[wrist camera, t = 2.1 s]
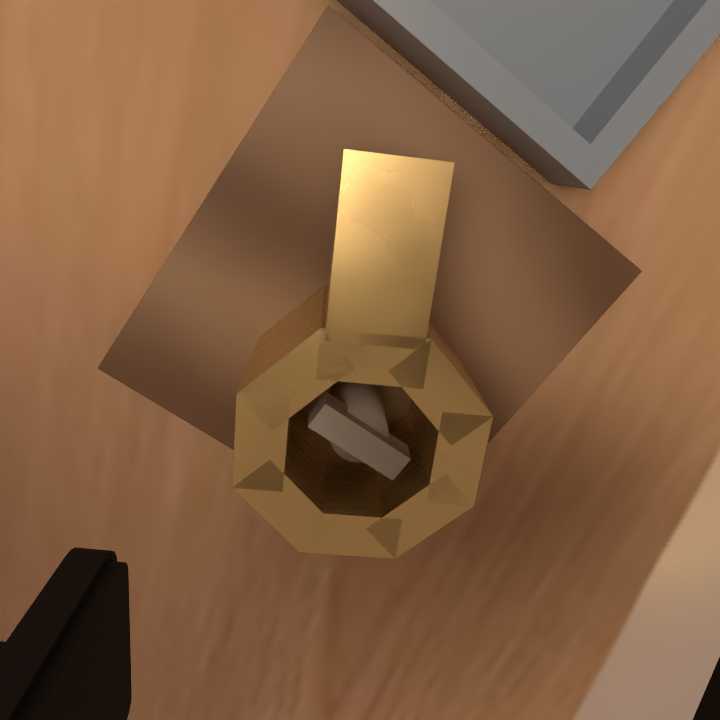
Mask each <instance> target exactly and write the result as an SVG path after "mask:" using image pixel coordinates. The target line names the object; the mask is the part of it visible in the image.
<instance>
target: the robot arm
mask: <svg viewBox="0 0 720 720" xmlns="http://www.w3.org/2000/svg"><path fill="white" fill-rule="evenodd" d="M130 704H131V658H130V619H129V581H128V565H127V563H125V562H117V557H116V554H115V552H114V551H108V550H96V549H85V548H73V549H71V550H70V551H69V553H68V554H67V555H66V556H65V558H64V559H63V561H62V562H61V564H60V565H59V566H58V568H57V569H56V571H55V572H54V574H53V575H52V576H51V578H50V579H49V581H48V582H47V584H46V585H45V586H44V588H43V589H42V591H41V592H40V594H39V595H38V597H37V598H36V599H35V601H34V602H33V604H32V605H31V607H30V608H29V609H28V611H27V612H26V614H25V615H24V617H23V618H22V619H21V621H20V622H19V624H18V625H17V627H16V628H15V630H14V631H13V632H12V634H11V635H10V637H9V638H8V640H7V641H6V642H0V720H127V717H128V714H129V709H130ZM693 720H720V658H719V660H718V662H717V664H716V667H715V669H714V671H713V674H712V676H711V678H710V681H709V683H708V685H707V688H706V690H705V692H704V695H703V697H702V700H701V702H700V704H699V707H698V709H697V711H696V713H695V716H694V718H693Z"/></svg>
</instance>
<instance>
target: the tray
mask: <svg viewBox="0 0 720 720" xmlns="http://www.w3.org/2000/svg"><path fill="white" fill-rule="evenodd" d="M338 1H339V2H340V3H341V4H342V5H343V6H345V7H346V8H347V9H348V10H349V11H350V12H352V13H353V14H354V15H355V16H356V17H357V18H359V19H360V20H361V21H362V22H363V23H364V24H366V25H367V26H368V27H369V28H370V29H371V30H373V31H374V32H375V33H376V34H377V35H378V36H380V37H381V38H382V39H383V40H384V41H386V42H387V43H388V44H389V45H390V46H391V47H393V48H394V49H395V50H396V51H397V52H398V53H400V54H401V55H402V56H403V57H404V58H405V59H407V60H408V61H409V62H410V63H411V64H412V65H414V66H415V67H416V68H417V69H418V70H419V71H421V72H422V73H423V74H424V75H425V76H426V77H428V78H429V79H430V80H431V81H432V82H433V83H435V84H436V85H437V86H438V87H439V88H440V89H442V90H443V91H444V92H445V93H446V94H448V95H449V96H450V97H451V98H452V99H453V100H455V101H456V102H457V103H458V104H459V105H460V106H462V107H463V108H464V109H465V110H466V111H467V112H469V113H470V114H471V115H472V116H473V117H474V118H476V119H477V120H478V121H479V122H480V123H481V124H483V125H484V126H485V127H486V128H487V129H488V130H490V131H491V132H492V133H493V134H494V135H495V136H497V137H498V138H499V139H500V140H501V141H502V142H504V143H505V144H506V145H507V146H508V147H510V148H511V149H512V150H513V151H514V152H515V153H517V154H518V155H519V156H520V157H521V158H522V159H524V160H525V161H526V162H527V163H528V164H529V165H531V166H532V167H533V168H534V169H535V170H536V171H538V172H539V173H540V174H541V175H542V176H543V177H545V178H546V179H547V180H548V181H549V182H550V183H554V184H560V185H566V186H572V187H578V188H583V189H589V190H591V189H592V188H593V187H594V185H595V184H596V183H597V182H598V181H599V179H600V178H601V177H602V176H603V175H604V173H605V172H606V171H607V170H608V169H609V167H610V166H611V165H612V164H613V162H614V161H615V160H616V159H617V158H618V156H619V155H620V154H621V153H622V152H623V150H624V149H625V148H626V147H627V146H628V144H629V143H630V142H631V141H632V140H633V138H634V137H635V136H636V135H637V134H638V132H639V131H640V130H641V129H642V128H643V126H644V125H645V124H646V123H647V122H648V120H649V119H650V118H651V117H652V116H653V114H654V113H655V112H656V111H657V110H658V108H659V107H660V106H661V105H662V104H663V102H664V101H665V100H666V99H667V98H668V96H669V95H670V94H671V93H672V92H673V90H674V89H675V88H676V87H677V86H678V84H679V83H680V82H681V81H682V80H683V78H684V77H685V76H686V75H687V73H688V72H689V71H690V70H691V69H692V67H693V66H694V65H695V64H696V63H697V61H698V60H699V59H700V58H701V57H702V55H703V54H704V53H705V52H706V51H707V49H708V48H709V47H710V46H711V45H712V43H713V42H714V41H715V40H716V39H717V37H718V36H719V35H720V0H338Z"/></svg>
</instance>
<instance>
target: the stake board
mask: <svg viewBox="0 0 720 720" xmlns="http://www.w3.org/2000/svg"><path fill="white" fill-rule="evenodd" d="M342 148H343V149H351V150H359V151H367V152H375V153H384V154H392V155H400V156H408V157H416V158H425V159H432V160H440V161H447V162H454V163H455V164H454V170H453V176H452V182H451V188H450V195H449V201H448V207H447V213H446V219H445V226H444V232H443V238H442V244H441V250H440V257H439V263H438V269H437V275H436V281H435V288H434V294H433V300H432V306H431V312H430V319H429V321H430V322H431V323H432V324H433V326H434V327H435V328H436V329H437V331H438V332H439V333H440V335H441V336H442V337H443V338H444V340H445V341H446V342H447V343H448V345H449V346H450V347H451V349H452V350H453V351H454V352H455V354H456V355H457V356H458V358H459V359H460V361H461V363H462V364H463V366H464V368H465V370H466V371H467V373H468V375H469V376H470V378H471V380H472V381H473V383H474V385H475V387H476V388H477V390H478V392H479V393H480V395H481V397H482V398H483V400H484V402H485V404H486V405H487V407H488V409H489V410H490V412H491V414H492V415H493V419H492V424H491V429H490V433H489V438H488V442H489V441H490V440H491V439H492V438H493V437H494V436H495V435H496V433H497V432H498V431H499V430H500V429H501V428H502V427H503V426H504V425H505V423H506V422H507V421H508V420H509V419H510V418H511V417H512V416H513V414H514V413H515V412H516V411H517V410H518V409H519V408H520V407H521V406H522V404H523V403H524V402H525V401H526V400H527V399H528V398H529V397H530V395H531V394H532V393H533V392H534V391H535V390H536V389H537V388H538V387H539V385H540V384H541V383H542V382H543V381H544V380H545V379H546V378H547V377H548V375H549V374H550V373H551V372H552V371H553V370H554V369H555V368H556V366H557V365H558V364H559V363H560V362H561V361H562V360H563V359H564V358H565V356H566V355H567V354H568V353H569V352H570V351H571V350H572V349H573V347H574V346H575V345H576V344H577V343H578V342H579V341H580V340H581V339H582V337H583V336H584V335H585V334H586V333H587V332H588V331H589V330H590V329H591V327H592V326H593V325H594V324H595V323H596V322H597V321H598V320H599V318H600V317H601V316H602V315H603V314H604V313H605V312H606V311H607V310H608V308H609V307H610V306H611V305H612V304H613V303H614V302H615V301H616V299H617V298H618V297H619V296H620V295H621V294H622V293H623V292H624V291H625V289H626V288H627V287H628V286H629V285H630V284H631V283H632V282H633V280H634V279H635V278H636V277H637V276H638V275H639V274H640V273H641V272H642V271H641V270H640V269H639V268H638V267H636V266H635V265H634V264H633V263H632V262H630V261H629V260H628V259H627V258H626V257H625V256H623V255H622V254H621V253H620V252H619V251H617V250H616V249H615V248H614V247H613V246H612V245H610V244H609V243H608V242H607V241H606V240H605V239H603V238H602V237H601V236H600V235H599V234H597V233H596V232H595V231H594V230H593V229H592V228H590V227H589V226H588V225H587V224H586V223H584V222H583V221H582V220H581V219H580V218H579V217H577V216H576V215H575V214H574V213H573V212H572V211H570V210H569V209H568V208H567V207H566V206H564V205H563V204H562V203H561V202H560V201H559V200H557V199H556V198H555V197H554V196H553V195H551V194H550V193H549V192H548V191H547V190H546V189H544V188H543V187H542V186H541V185H540V184H539V183H537V182H536V181H535V180H534V179H533V178H531V177H530V176H529V175H528V174H527V173H526V172H524V171H523V170H522V169H521V168H520V167H519V166H517V165H516V164H515V163H514V162H513V161H511V160H510V159H509V158H508V157H507V156H506V155H504V154H503V153H502V152H501V151H500V150H498V149H497V148H496V147H495V146H494V145H493V144H491V143H490V142H489V141H488V140H487V139H486V138H484V137H483V136H482V135H481V134H480V133H478V132H477V131H476V130H475V129H474V128H473V127H471V126H470V125H469V124H468V123H467V122H465V121H464V120H463V119H462V118H461V117H460V116H458V115H457V114H456V113H455V112H454V111H453V110H451V109H450V108H449V107H448V106H447V105H445V104H444V103H443V102H442V101H441V100H440V99H438V98H437V97H436V96H435V95H434V94H432V93H431V92H430V91H429V90H428V89H427V88H425V87H424V86H423V85H422V84H421V83H420V82H418V81H417V80H416V79H415V78H414V77H412V76H411V75H410V74H409V73H408V72H407V71H405V70H404V69H403V68H402V67H401V66H399V65H398V64H397V63H396V62H395V61H394V60H392V59H391V58H390V57H389V56H388V55H387V54H385V53H384V52H383V51H382V50H381V49H379V48H378V47H377V46H376V45H375V44H374V43H372V42H371V41H370V40H369V39H368V38H366V37H365V36H364V35H363V34H362V33H361V32H359V31H358V30H357V29H356V28H355V27H354V26H352V25H351V24H350V23H349V22H348V21H346V20H345V19H344V18H343V17H342V16H341V15H339V14H338V13H337V12H336V11H335V10H333V9H332V8H331V7H330V6H329V5H328V6H327V8H326V9H325V11H324V12H323V14H322V15H321V17H320V19H319V20H318V22H317V23H316V25H315V26H314V28H313V30H312V31H311V33H310V34H309V36H308V37H307V39H306V41H305V42H304V44H303V45H302V47H301V48H300V50H299V52H298V53H297V55H296V56H295V58H294V59H293V61H292V63H291V64H290V66H289V67H288V69H287V71H286V72H285V74H284V75H283V77H282V78H281V80H280V82H279V83H278V85H277V86H276V88H275V89H274V91H273V93H272V94H271V96H270V97H269V99H268V100H267V102H266V104H265V105H264V107H263V108H262V110H261V111H260V113H259V115H258V116H257V118H256V119H255V121H254V123H253V124H252V126H251V127H250V129H249V130H248V132H247V134H246V135H245V137H244V138H243V140H242V141H241V143H240V145H239V146H238V148H237V149H236V151H235V152H234V154H233V156H232V157H231V159H230V160H229V162H228V163H227V165H226V167H225V168H224V170H223V171H222V173H221V174H220V176H219V178H218V179H217V181H216V182H215V184H214V186H213V187H212V189H211V190H210V192H209V193H208V195H207V197H206V198H205V200H204V201H203V203H202V204H201V206H200V208H199V209H198V211H197V212H196V214H195V215H194V217H193V219H192V220H191V222H190V223H189V225H188V226H187V228H186V230H185V231H184V233H183V234H182V236H181V237H180V239H179V241H178V242H177V244H176V245H175V247H174V249H173V250H172V252H171V253H170V255H169V256H168V258H167V260H166V261H165V263H164V264H163V266H162V267H161V269H160V271H159V272H158V274H157V275H156V277H155V278H154V280H153V282H152V283H151V285H150V286H149V288H148V289H147V291H146V293H145V294H144V296H143V297H142V299H141V300H140V302H139V304H138V305H137V307H136V308H135V310H134V312H133V313H132V315H131V316H130V318H129V319H128V321H127V323H126V324H125V326H124V327H123V329H122V330H121V332H120V334H119V335H118V337H117V338H116V340H115V341H114V343H113V345H112V346H111V348H110V349H109V351H108V352H107V354H106V356H105V357H104V359H103V360H102V362H101V364H100V365H99V367H98V369H100V370H101V371H103V372H105V373H106V374H108V375H110V376H111V377H113V378H115V379H116V380H118V381H120V382H121V383H123V384H125V385H126V386H128V387H130V388H131V389H133V390H135V391H136V392H138V393H140V394H141V395H143V396H145V397H146V398H148V399H150V400H151V401H153V402H155V403H156V404H158V405H160V406H161V407H163V408H165V409H166V410H168V411H170V412H171V413H173V414H175V415H176V416H178V417H180V418H181V419H183V420H185V421H186V422H188V423H190V424H191V425H193V426H195V427H196V428H198V429H200V430H201V431H203V432H205V433H206V434H208V435H210V436H211V437H213V438H215V439H216V440H218V441H220V442H221V443H223V444H225V445H226V446H228V447H230V448H231V449H233V450H234V439H235V418H236V397H237V392H238V389H239V386H240V384H241V381H242V379H243V376H244V374H245V371H246V369H247V366H248V364H249V361H250V358H251V356H252V353H253V351H254V348H255V346H256V343H257V341H258V338H259V337H260V336H261V335H262V334H264V333H265V332H266V331H267V330H269V329H270V328H271V327H272V326H274V325H275V324H276V323H277V322H279V321H280V320H281V319H282V318H284V317H285V316H286V315H287V314H289V313H290V312H291V311H292V310H294V309H295V308H296V307H297V306H299V305H300V304H301V303H302V302H304V301H305V300H306V299H307V298H309V297H310V296H311V295H312V294H314V293H315V292H316V291H317V290H319V289H320V288H321V287H322V286H324V285H326V286H328V283H329V273H330V263H331V252H332V242H333V232H334V222H335V212H336V202H337V191H338V181H339V171H340V161H341V151H342ZM410 401H411V398H410V396H409V395H408V394H407V393H406V392H405V390H404V389H403V388H402V387H396V386H385V385H374V384H363V383H352V382H341V381H337V382H336V383H335V384H333V385H332V386H331V387H329V388H328V389H327V390H326V391H324V392H323V393H322V394H320V395H319V396H318V397H316V398H315V399H314V400H312V401H311V402H310V403H308V404H307V405H306V406H304V407H303V408H302V410H303V411H304V412H305V413H306V414H307V415H308V416H309V417H308V427H309V428H310V429H312V430H313V431H315V432H317V433H318V434H320V435H321V436H323V437H325V438H326V439H328V440H329V441H330V442H331V445H332V447H333V449H334V451H335V452H336V453H337V454H338V455H339V456H340V457H342V458H344V459H346V460H348V461H352V462H364V463H366V464H367V465H369V466H370V467H372V468H374V469H375V470H377V471H378V472H380V473H381V474H383V475H385V476H386V477H388V478H389V479H391V480H394V479H395V477H396V476H397V475H398V474H399V473H400V472H401V470H402V469H403V468H404V467H405V466H406V465H407V463H408V462H409V461H410V460H411V457H410V453H409V449H408V445H407V444H405V443H404V442H402V441H401V440H399V439H398V438H396V437H395V436H393V435H391V434H390V433H389V430H388V426H390V425H391V424H393V423H394V422H395V421H397V420H398V419H399V418H401V417H402V416H404V415H405V414H406V413H408V412H409V407H410ZM487 444H488V443H487Z"/></svg>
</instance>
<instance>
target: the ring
mask: <svg viewBox="0 0 720 720" xmlns="http://www.w3.org/2000/svg"><path fill="white" fill-rule="evenodd" d="M454 164H455V163H454V162H447V161H440V160H432V159H425V158H416V157H408V156H400V155H392V154H384V153H375V152H367V151H359V150H351V149H343V148H342V151H341V161H340V171H339V181H338V191H337V202H336V212H335V222H334V232H333V242H332V252H331V263H330V273H329V283H328V286H326V285H324V286H322V287H321V288H320V289H319V290H317V291H316V292H315V293H314V294H312V295H311V296H310V297H309V298H307V299H306V300H305V301H304V302H302V303H301V304H300V305H299V306H297V307H296V308H295V309H294V310H292V311H291V312H290V313H289V314H287V315H286V316H285V317H284V318H282V319H281V320H280V321H279V322H277V323H276V324H275V325H274V326H272V327H271V328H270V329H269V330H267V331H266V332H265V333H264V334H262V335H261V336H260V337H259V338H258V341H257V343H256V346H255V348H254V351H253V353H252V356H251V358H250V361H249V364H248V366H247V369H246V371H245V374H244V376H243V379H242V381H241V384H240V386H239V389H238V392H237V397H236V418H235V439H234V460H233V481H232V488H233V489H234V490H235V491H236V492H237V493H238V494H239V495H240V496H241V497H242V498H243V499H244V500H245V501H246V502H247V503H248V504H249V505H250V506H252V507H253V508H254V509H255V510H256V511H257V512H258V513H259V514H260V515H261V516H262V517H263V518H264V519H265V520H266V521H267V522H268V523H269V524H270V525H271V526H272V527H273V528H274V529H275V530H276V531H277V532H278V533H279V534H280V535H282V536H283V537H284V538H285V539H286V540H287V541H288V542H289V543H290V544H291V545H292V546H293V547H294V548H295V549H296V550H297V551H298V552H300V553H315V554H330V555H345V556H360V557H374V558H389V559H396V558H397V557H399V556H400V555H402V554H403V553H405V552H406V551H408V550H409V549H411V548H412V547H414V546H415V545H417V544H418V543H420V542H421V541H423V540H424V539H426V538H427V537H429V536H430V535H432V534H433V533H435V532H436V531H438V530H439V529H441V528H442V527H444V526H445V525H447V524H448V523H450V522H451V521H453V520H454V519H456V518H457V517H458V516H460V515H461V514H463V513H464V512H466V511H467V510H469V509H470V508H472V507H473V506H474V504H475V499H476V495H477V490H478V485H479V480H480V476H481V471H482V466H483V462H484V457H485V452H486V447H487V443H488V438H489V433H490V429H491V424H492V419H493V415H492V414H491V412H490V410H489V409H488V407H487V405H486V404H485V402H484V400H483V398H482V397H481V395H480V393H479V392H478V390H477V388H476V387H475V385H474V383H473V381H472V380H471V378H470V376H469V375H468V373H467V371H466V370H465V368H464V366H463V364H462V363H461V361H460V359H459V358H458V356H457V355H456V354H455V352H454V351H453V350H452V349H451V347H450V346H449V345H448V343H447V342H446V341H445V340H444V338H443V337H442V336H441V335H440V333H439V332H438V331H437V329H436V328H435V327H434V326H433V324H432V323H431V322H430V321H429V319H430V312H431V306H432V300H433V294H434V288H435V281H436V275H437V269H438V263H439V257H440V250H441V244H442V238H443V232H444V226H445V219H446V213H447V207H448V201H449V195H450V188H451V182H452V176H453V170H454ZM337 381H341V382H352V383H363V384H374V385H385V386H396V387H402V388H403V389H404V390H405V392H406V393H407V394H408V395H409V396H410V398H411V401H410V407H409V412H408V413H406V414H405V415H404V416H402V417H401V418H399V419H398V420H397V421H395V422H394V423H393V424H391V425H390V426H388V430H389V433H390V434H391V435H393V436H395V437H396V438H398V439H399V440H401V441H402V442H404V443H405V444H407V445H408V449H409V453H410V457H411V460H410V461H409V462H408V463H407V465H406V466H405V467H404V468H403V469H402V470H401V472H400V473H399V474H398V475H397V476H396V477H395V479H394V480H391V479H389V478H388V477H386V476H385V475H383V474H381V473H380V472H378V471H377V470H375V469H374V468H372V467H370V466H369V465H367V464H366V463H364V462H352V461H348V460H346V459H344V458H342V457H340V456H339V455H338V454H337V453H336V452H335V451H334V449H333V447H332V445H331V442H330V441H329V440H328V439H326V438H325V437H323V436H321V435H320V434H318V433H317V432H315V431H313V430H312V429H310V428H309V427H308V417H309V416H308V415H307V414H306V413H305V412H304V411H303V410H302V408H303V407H304V406H306V405H307V404H308V403H310V402H311V401H312V400H314V399H315V398H316V397H318V396H319V395H320V394H322V393H323V392H324V391H326V390H327V389H328V388H329V387H331V386H332V385H333V384H335V383H336V382H337Z"/></svg>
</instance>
